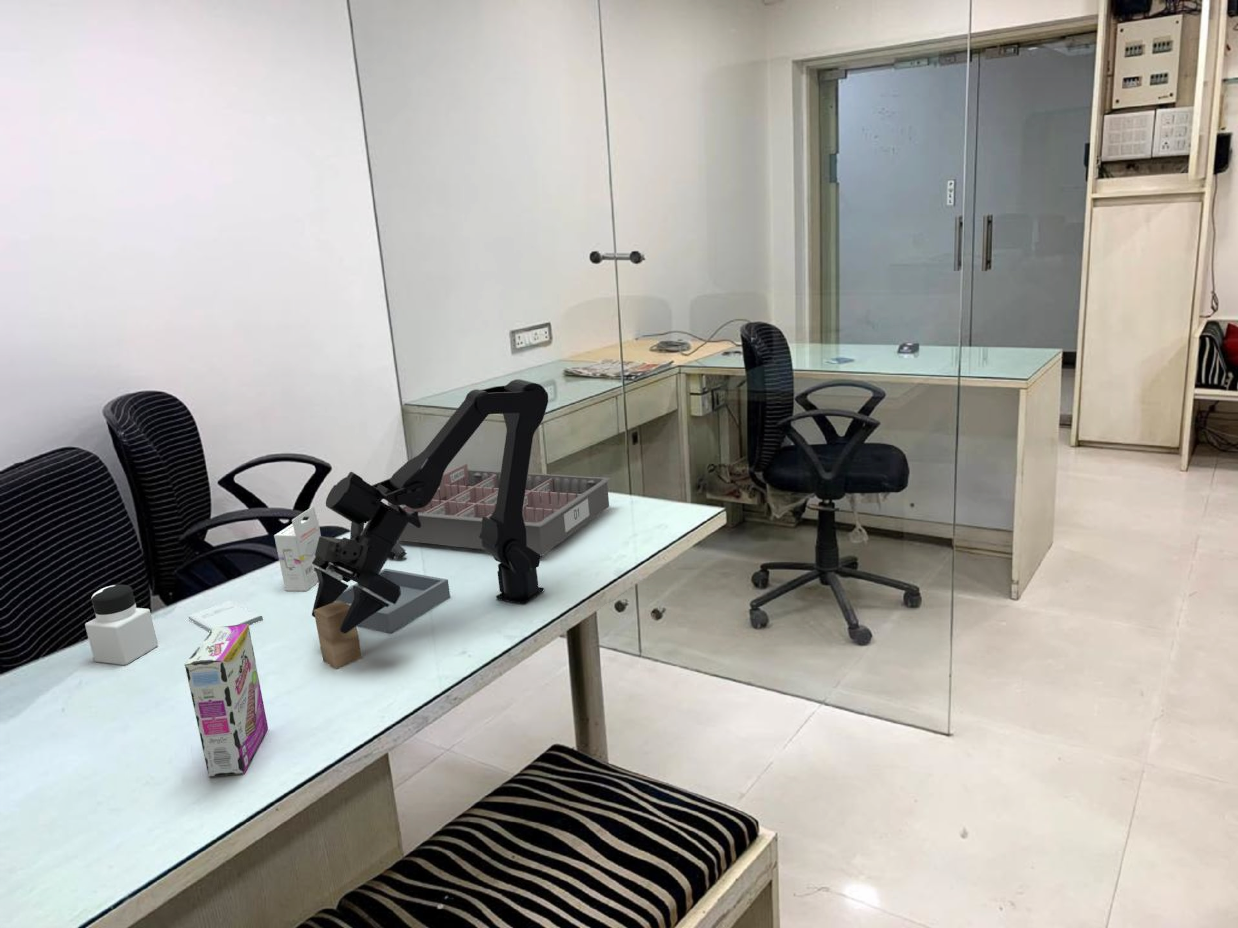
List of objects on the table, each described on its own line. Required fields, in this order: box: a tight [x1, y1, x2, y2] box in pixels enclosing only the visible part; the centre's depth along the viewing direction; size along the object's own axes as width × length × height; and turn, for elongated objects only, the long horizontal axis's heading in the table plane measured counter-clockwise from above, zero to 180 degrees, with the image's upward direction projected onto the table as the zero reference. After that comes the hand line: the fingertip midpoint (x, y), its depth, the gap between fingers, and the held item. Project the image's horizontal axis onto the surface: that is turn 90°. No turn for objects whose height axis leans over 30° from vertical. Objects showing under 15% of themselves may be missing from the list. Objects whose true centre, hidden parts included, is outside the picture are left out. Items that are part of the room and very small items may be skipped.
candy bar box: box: [184, 624, 269, 778], centre depth 121 cm, size 11×5×16 cm, turn 5°
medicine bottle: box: [84, 584, 159, 666], centre depth 154 cm, size 7×7×12 cm
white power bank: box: [188, 600, 264, 633], centre depth 166 cm, size 2×8×12 cm
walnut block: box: [314, 600, 363, 670], centre depth 146 cm, size 4×4×9 cm
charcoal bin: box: [334, 568, 451, 634], centre depth 165 cm, size 16×16×4 cm
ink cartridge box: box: [273, 506, 322, 592], centre depth 179 cm, size 9×5×15 cm, turn 168°
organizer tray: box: [387, 462, 612, 556], centre depth 202 cm, size 32×40×10 cm
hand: (328, 624), depth 145 cm, fingers open, 9 cm apart
